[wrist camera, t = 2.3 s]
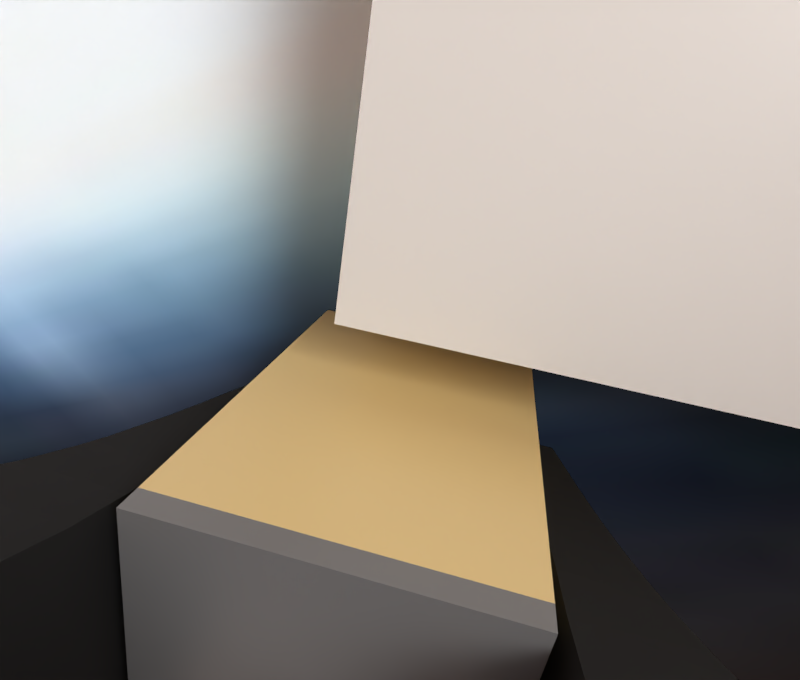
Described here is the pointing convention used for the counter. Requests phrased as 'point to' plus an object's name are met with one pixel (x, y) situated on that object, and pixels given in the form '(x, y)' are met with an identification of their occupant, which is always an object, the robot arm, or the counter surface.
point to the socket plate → (586, 192)
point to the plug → (347, 524)
